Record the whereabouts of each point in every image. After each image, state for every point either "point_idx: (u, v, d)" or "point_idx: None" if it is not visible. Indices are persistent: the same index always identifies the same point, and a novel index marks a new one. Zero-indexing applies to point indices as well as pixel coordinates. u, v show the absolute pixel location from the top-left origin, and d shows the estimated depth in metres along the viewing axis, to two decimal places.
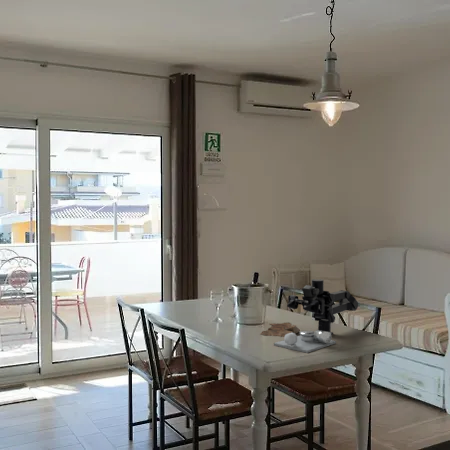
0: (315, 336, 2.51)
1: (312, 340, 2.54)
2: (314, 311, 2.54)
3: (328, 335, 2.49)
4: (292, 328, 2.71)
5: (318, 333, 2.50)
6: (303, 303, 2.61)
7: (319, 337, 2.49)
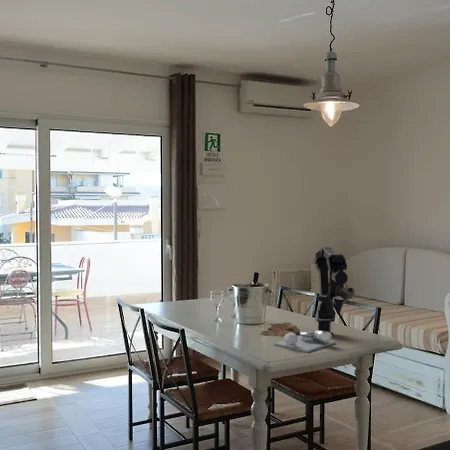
0: (315, 336, 2.51)
1: (312, 340, 2.54)
2: None
3: (328, 335, 2.49)
4: (292, 328, 2.71)
5: (318, 333, 2.50)
6: (334, 298, 2.53)
7: (319, 337, 2.49)
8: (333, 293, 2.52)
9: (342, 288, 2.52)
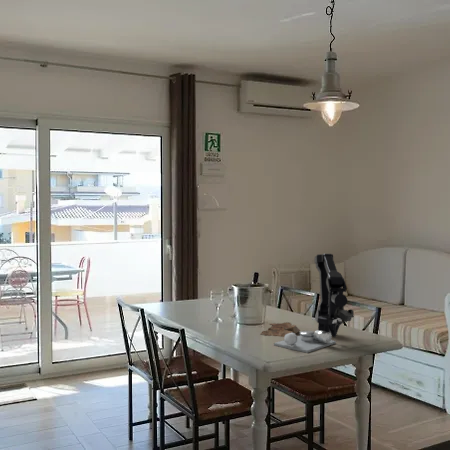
0: (315, 336, 2.51)
1: (312, 340, 2.54)
2: None
3: (328, 335, 2.49)
4: (292, 328, 2.71)
5: (318, 333, 2.50)
6: None
7: (319, 337, 2.49)
8: (333, 315, 2.52)
9: (342, 310, 2.52)
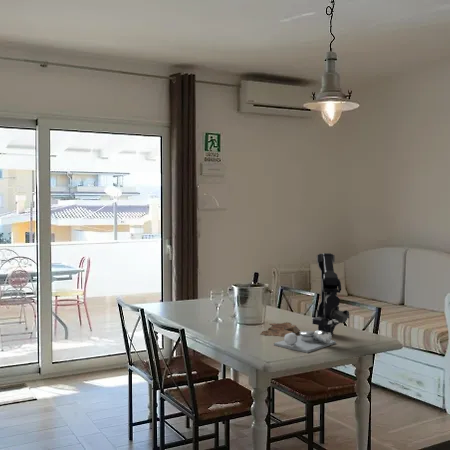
0: (315, 336, 2.51)
1: (312, 340, 2.54)
2: None
3: (328, 335, 2.49)
4: (292, 328, 2.71)
5: (318, 333, 2.50)
6: None
7: (319, 337, 2.49)
8: (328, 316, 2.50)
9: (337, 311, 2.50)
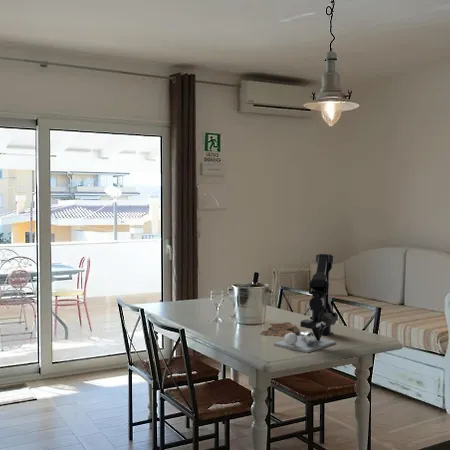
0: (303, 336, 2.51)
1: None
2: None
3: (309, 337, 2.46)
4: (292, 328, 2.71)
5: (304, 333, 2.50)
6: None
7: None
8: (316, 318, 2.45)
9: (326, 313, 2.44)
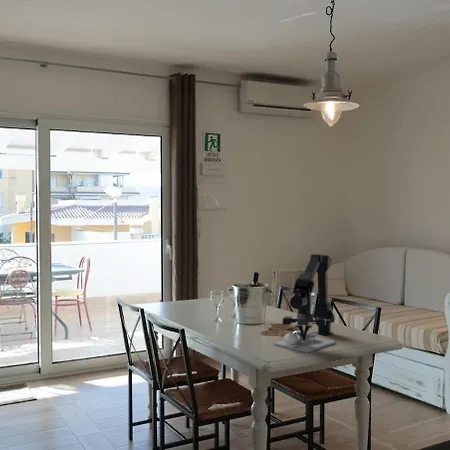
0: None
1: (312, 340, 2.54)
2: None
3: None
4: (292, 328, 2.71)
5: None
6: None
7: None
8: None
9: (304, 313, 2.43)
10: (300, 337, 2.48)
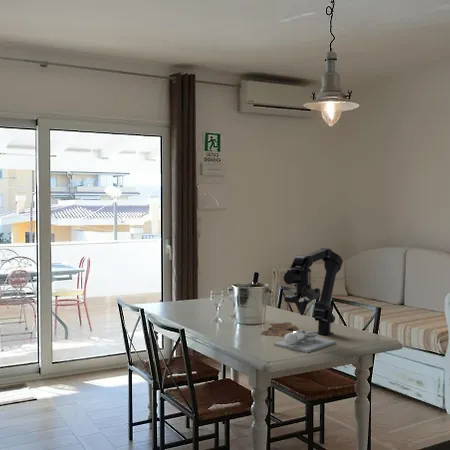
0: None
1: (312, 340, 2.54)
2: None
3: None
4: (292, 328, 2.71)
5: None
6: None
7: None
8: (300, 294, 2.58)
9: (309, 288, 2.57)
10: (300, 337, 2.48)
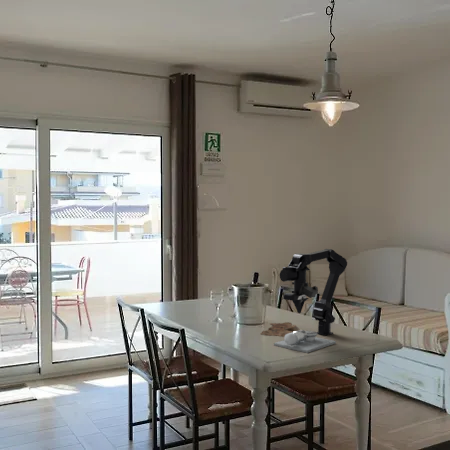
0: None
1: (312, 340, 2.54)
2: None
3: None
4: (292, 328, 2.71)
5: None
6: None
7: None
8: (298, 291, 2.61)
9: (307, 286, 2.61)
10: (300, 337, 2.48)
